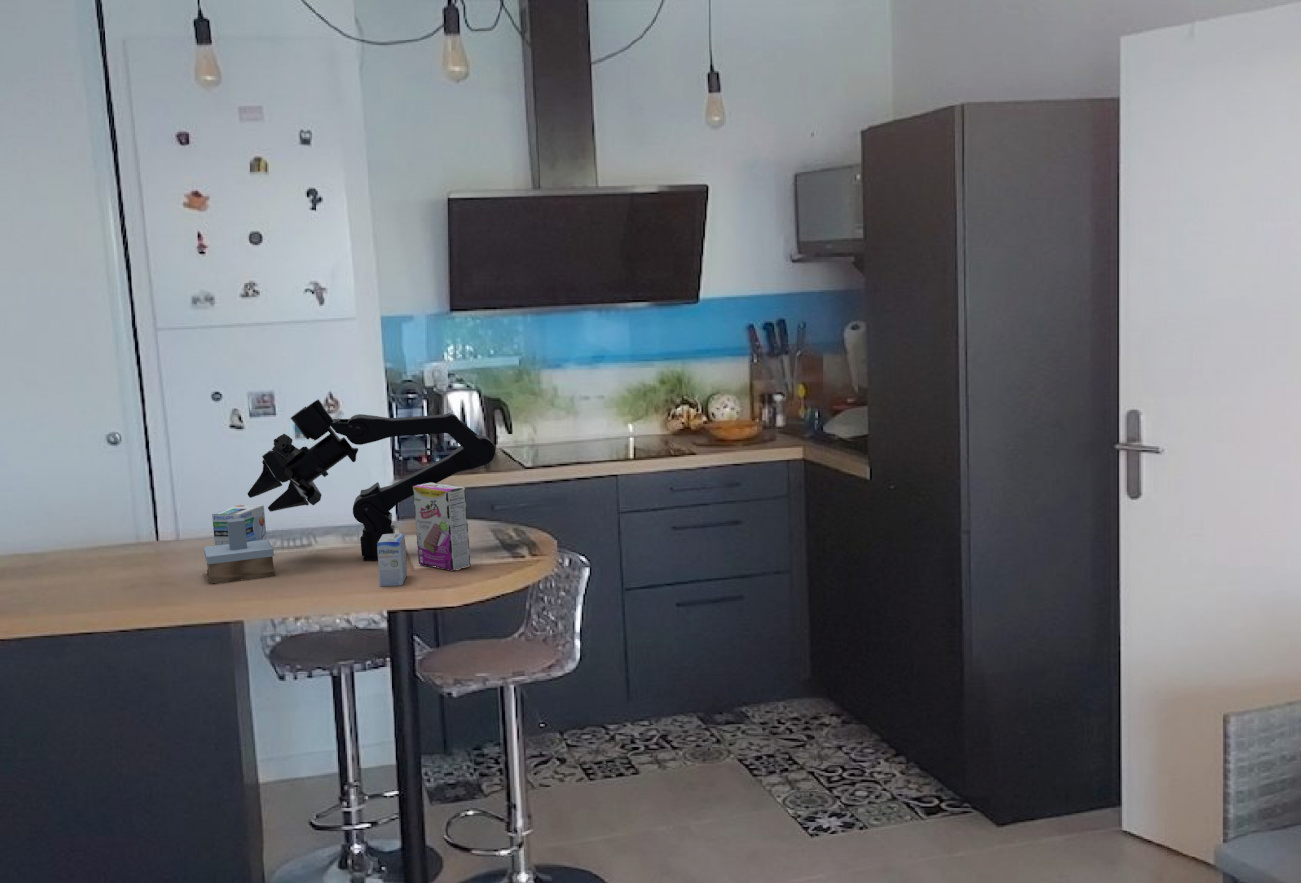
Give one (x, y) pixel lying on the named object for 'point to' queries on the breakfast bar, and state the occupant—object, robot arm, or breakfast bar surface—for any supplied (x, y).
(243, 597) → the breakfast bar surface
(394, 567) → the medicine box
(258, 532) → the light bulb box
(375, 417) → the robot arm
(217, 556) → the lid
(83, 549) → the breakfast bar surface
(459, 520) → the candy bar box
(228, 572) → the walnut box
